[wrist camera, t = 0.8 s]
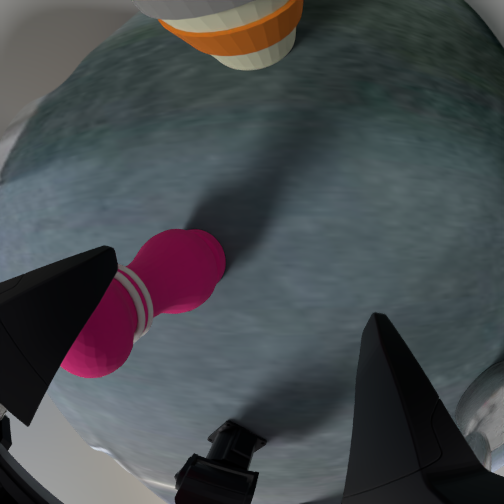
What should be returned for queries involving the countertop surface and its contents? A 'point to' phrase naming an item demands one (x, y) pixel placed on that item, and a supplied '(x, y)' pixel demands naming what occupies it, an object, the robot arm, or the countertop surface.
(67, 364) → the pepper mill
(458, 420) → the steel pot
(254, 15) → the reusable coffee cup
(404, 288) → the countertop surface
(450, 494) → the robot arm
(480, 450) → the steel lid
